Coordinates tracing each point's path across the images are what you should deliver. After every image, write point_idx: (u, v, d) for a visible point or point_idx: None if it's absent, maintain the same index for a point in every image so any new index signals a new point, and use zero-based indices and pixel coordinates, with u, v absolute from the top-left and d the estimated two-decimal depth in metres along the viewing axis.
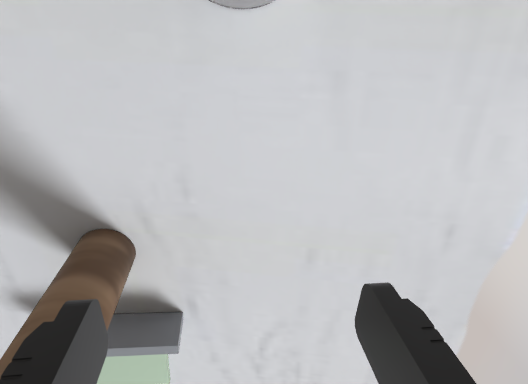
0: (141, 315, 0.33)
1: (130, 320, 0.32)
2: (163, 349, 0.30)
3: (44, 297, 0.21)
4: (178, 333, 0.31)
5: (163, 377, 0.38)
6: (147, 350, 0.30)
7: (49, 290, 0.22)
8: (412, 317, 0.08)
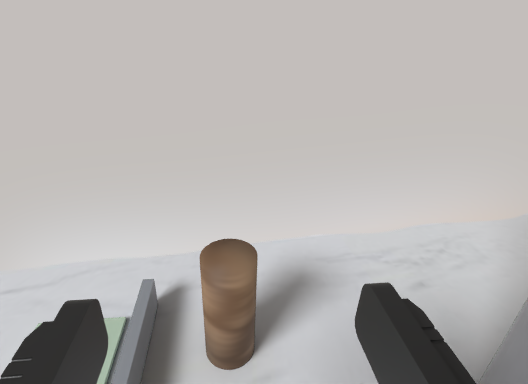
0: (141, 374, 0.29)
1: (143, 360, 0.30)
2: (121, 380, 0.25)
3: None
4: None
5: None
6: (126, 362, 0.27)
7: None
8: (412, 317, 0.08)
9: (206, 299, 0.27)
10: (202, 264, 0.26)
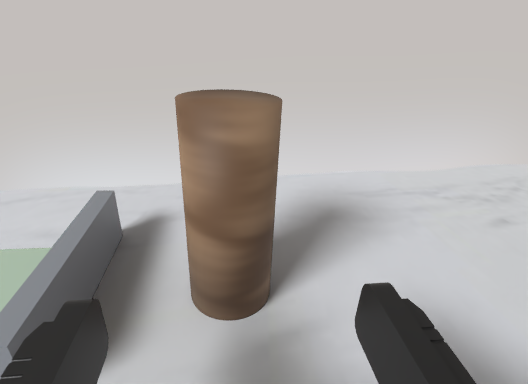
0: None
1: None
2: (14, 317, 0.13)
3: None
4: None
5: None
6: (33, 290, 0.14)
7: None
8: (412, 317, 0.08)
9: (188, 177, 0.15)
10: (179, 101, 0.14)
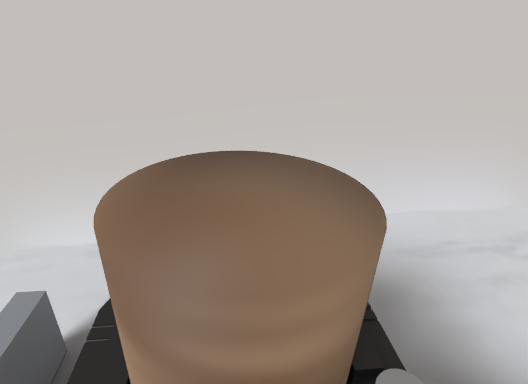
0: None
1: None
2: None
3: None
4: None
5: None
6: None
7: None
8: None
9: None
10: (100, 229, 0.05)
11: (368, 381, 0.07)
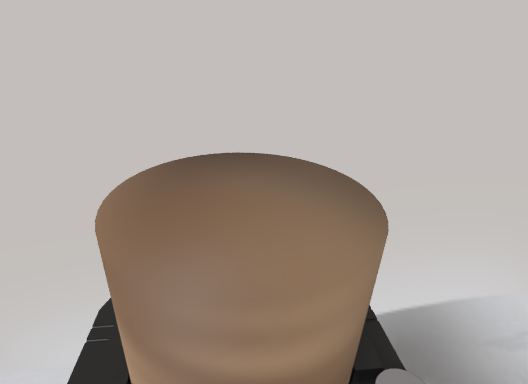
0: None
1: None
2: None
3: None
4: None
5: None
6: None
7: None
8: None
9: None
10: (101, 232, 0.05)
11: (368, 381, 0.07)
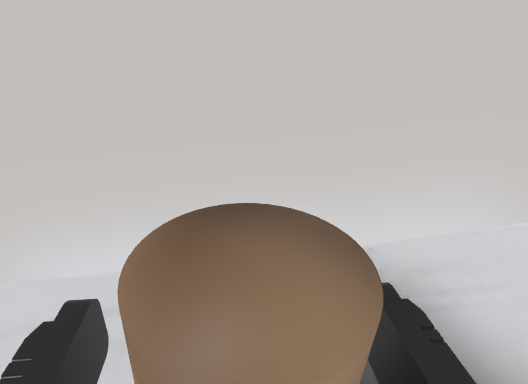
0: None
1: None
2: None
3: None
4: None
5: None
6: None
7: None
8: (412, 317, 0.08)
9: None
10: (124, 307, 0.05)
11: None
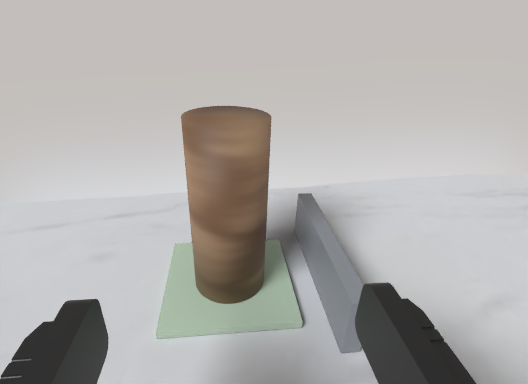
0: None
1: None
2: (354, 284, 0.18)
3: None
4: None
5: (180, 322, 0.19)
6: (345, 267, 0.19)
7: None
8: (412, 317, 0.08)
9: (192, 183, 0.18)
10: (184, 120, 0.16)
11: None
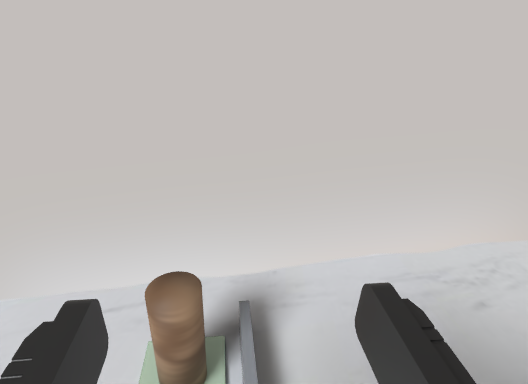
0: None
1: None
2: None
3: None
4: None
5: None
6: (252, 380, 0.30)
7: None
8: (412, 317, 0.08)
9: (151, 330, 0.28)
10: (146, 298, 0.27)
11: None
